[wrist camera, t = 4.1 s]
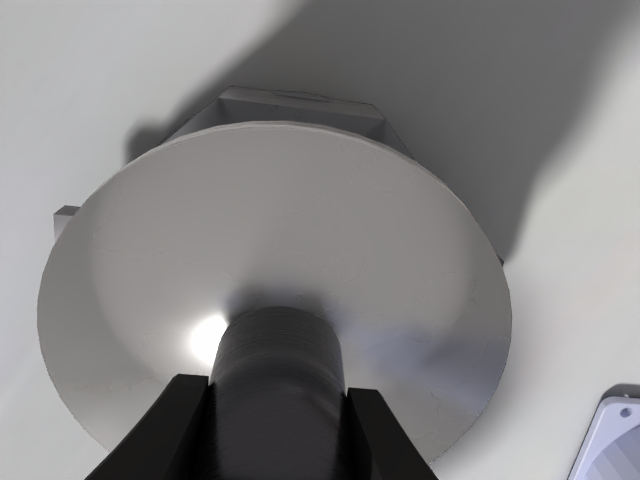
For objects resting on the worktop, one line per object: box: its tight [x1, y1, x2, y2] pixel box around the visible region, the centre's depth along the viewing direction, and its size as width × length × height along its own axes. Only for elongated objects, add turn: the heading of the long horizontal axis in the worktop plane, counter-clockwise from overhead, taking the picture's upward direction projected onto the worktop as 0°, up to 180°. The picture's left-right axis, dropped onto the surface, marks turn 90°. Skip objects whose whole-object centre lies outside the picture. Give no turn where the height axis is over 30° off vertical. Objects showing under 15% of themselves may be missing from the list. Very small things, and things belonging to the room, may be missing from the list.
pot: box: [54, 86, 504, 267], centre depth 17 cm, size 14×11×3 cm
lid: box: [37, 121, 512, 480], centre depth 10 cm, size 10×10×5 cm
